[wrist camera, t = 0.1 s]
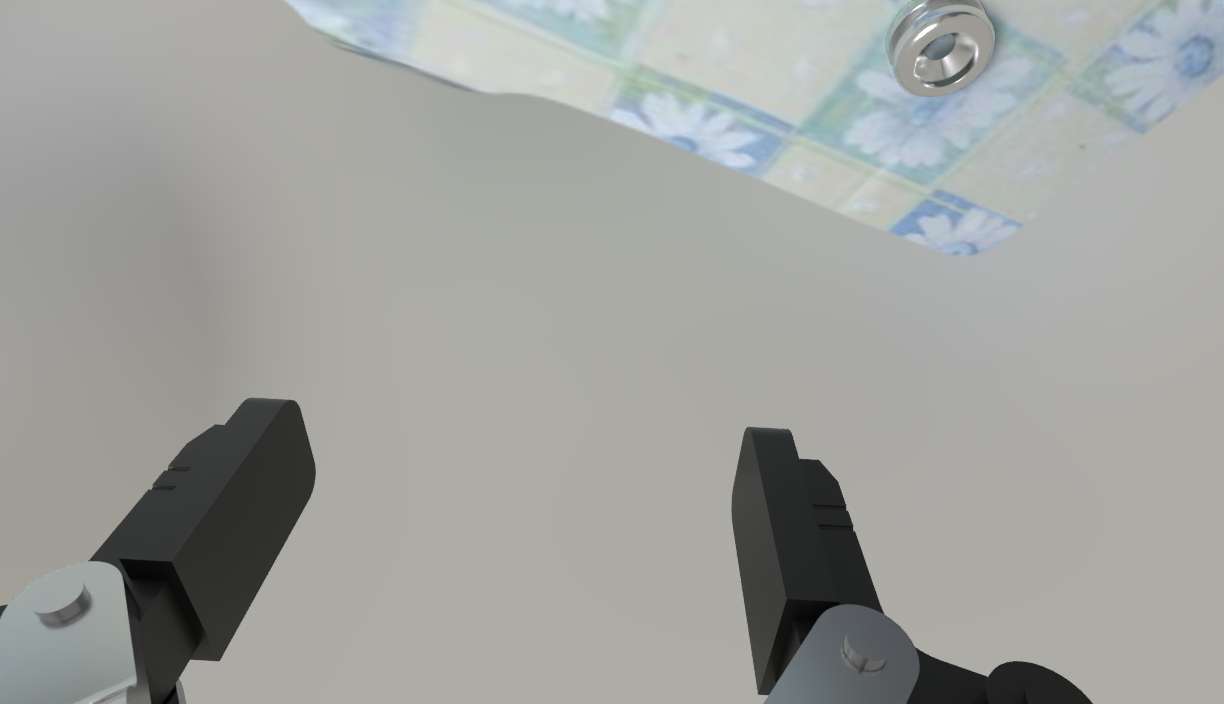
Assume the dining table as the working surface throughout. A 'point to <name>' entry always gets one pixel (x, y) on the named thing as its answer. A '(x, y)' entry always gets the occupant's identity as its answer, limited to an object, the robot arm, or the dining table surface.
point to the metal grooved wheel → (939, 45)
